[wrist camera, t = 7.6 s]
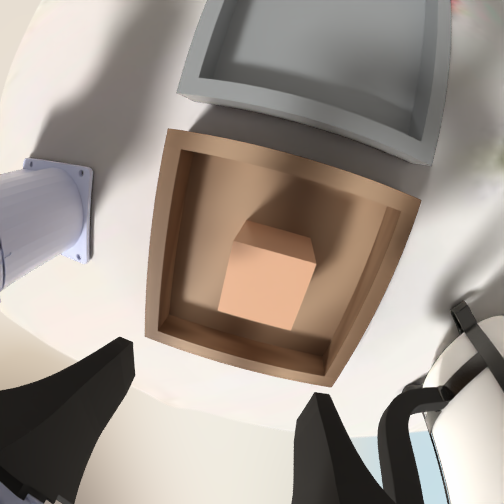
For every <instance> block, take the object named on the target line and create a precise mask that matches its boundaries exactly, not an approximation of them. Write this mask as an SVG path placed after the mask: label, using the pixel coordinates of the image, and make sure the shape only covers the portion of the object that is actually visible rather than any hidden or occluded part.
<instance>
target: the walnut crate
mask: <svg viewBox="0 0 504 504" xmlns="http://www.w3.org/2000/svg"><path fill="white" fill-rule="evenodd" d="M420 203H421V200H420V199H418V198H415V197H413V196H411V195H408V194H406V193H403V192H401V191H399V190H396V189H394V188H391V187H389V186H386V185H384V184H381V183H378V182H376V181H373V180H370V179H368V178H365V177H362V176H359V175H356V174H354V173H351V172H348V171H345V170H342V169H339V168H336V167H333V166H330V165H327V164H323V163H320V162H317V161H314V160H310V159H307V158H303V157H300V156H296V155H293V154H289V153H286V152H282V151H278V150H274V149H270V148H266V147H262V146H258V145H254V144H250V143H245V142H241V141H236V140H231V139H227V138H222V137H217V136H211V135H206V134H200V133H195V132H189V131H183V130H176V129H169V128H168V131H167V135H166V140H165V145H164V150H163V155H162V161H161V166H160V172H159V178H158V184H157V190H156V197H155V204H154V211H153V219H152V228H151V237H150V246H149V257H148V270H147V285H146V306H145V337H147V338H150V339H152V340H155V341H158V342H160V343H163V344H166V345H169V346H171V347H174V348H177V349H180V350H183V351H186V352H189V353H192V354H195V355H198V356H201V357H204V358H208V359H211V360H214V361H218V362H221V363H224V364H228V365H231V366H235V367H239V368H242V369H246V370H250V371H254V372H258V373H262V374H266V375H271V376H275V377H279V378H284V379H289V380H294V381H298V382H304V383H309V384H314V385H320V386H326V387H332V386H333V384H334V383H335V381H336V380H337V378H338V377H339V375H340V374H341V372H342V370H343V369H344V367H345V365H346V364H347V362H348V361H349V359H350V357H351V355H352V354H353V352H354V350H355V349H356V347H357V345H358V343H359V342H360V340H361V338H362V336H363V334H364V333H365V331H366V329H367V327H368V325H369V323H370V321H371V320H372V318H373V316H374V314H375V312H376V310H377V308H378V306H379V304H380V302H381V300H382V298H383V296H384V294H385V291H386V289H387V287H388V285H389V283H390V281H391V278H392V276H393V274H394V272H395V269H396V267H397V265H398V262H399V260H400V258H401V255H402V253H403V250H404V248H405V245H406V243H407V240H408V237H409V235H410V232H411V229H412V227H413V224H414V221H415V218H416V215H417V212H418V210H419V207H420ZM246 220H248V221H252V222H255V223H259V224H263V225H266V226H270V227H273V228H277V229H281V230H284V231H288V232H291V233H295V234H298V235H302V236H305V237H309V238H311V242H312V246H313V251H314V255H315V259H316V267H315V269H314V272H313V275H312V278H311V280H310V283H309V286H308V288H307V291H306V294H305V296H304V299H303V301H302V304H301V306H300V309H299V311H298V314H297V317H296V319H295V321H294V324H293V326H292V329H291V331H290V330H286V329H282V328H278V327H274V326H271V325H267V324H263V323H259V322H256V321H252V320H248V319H245V318H241V317H238V316H234V315H231V314H227V313H224V312H220V311H218V306H219V302H220V297H221V293H222V288H223V284H224V279H225V275H226V271H227V266H228V262H229V258H230V253H231V249H232V245H233V241H234V239H235V237H236V236H237V234H238V233H239V231H240V229H241V228H242V226H243V225H244V223H245V221H246Z"/></svg>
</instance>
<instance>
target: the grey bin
mask: <svg viewBox="0 0 504 504" xmlns="http://www.w3.org/2000/svg"><path fill="white" fill-rule="evenodd" d="M450 50H451V0H207V2H206V4H205V7H204V9H203V12H202V15H201V17H200V20H199V23H198V25H197V28H196V31H195V34H194V37H193V40H192V43H191V46H190V49H189V52H188V55H187V58H186V62H185V65H184V68H183V72H182V75H181V79H180V82H179V86H178V89H177V94H179V95H182V96H184V97H186V98H188V99H190V100H192V101H194V102H200V103H207V104H214V105H220V106H226V107H231V108H237V109H242V110H247V111H252V112H257V113H261V114H266V115H270V116H274V117H278V118H282V119H286V120H290V121H294V122H298V123H301V124H305V125H308V126H312V127H315V128H318V129H322V130H325V131H328V132H331V133H334V134H337V135H340V136H343V137H346V138H349V139H352V140H355V141H357V142H360V143H363V144H366V145H368V146H371V147H373V148H376V149H379V150H381V151H384V152H386V153H388V154H391V155H393V156H396V157H398V158H400V159H402V160H405V161H407V162H409V163H415V164H422V165H428V166H432V162H433V159H434V155H435V150H436V146H437V142H438V137H439V132H440V128H441V122H442V117H443V111H444V105H445V99H446V92H447V84H448V75H449V65H450Z"/></svg>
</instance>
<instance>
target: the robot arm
mask: <svg viewBox="0 0 504 504" xmlns="http://www.w3.org/2000/svg"><path fill="white" fill-rule="evenodd" d="M82 170H83V175H82ZM92 179H93V171H92V169H91V168H90V167H86V166H80V165H74V164H68V163H62V162H55V161H49V160H42V159H35V158H25V160H24V163H23V169H21V170H17V171H12V172H8V173H4V174H0V291H2V290H3V289H5V288H6V287H8V286H9V285H11V284H12V283H14V282H15V281H17V280H18V279H20V278H21V277H23V276H25V275H26V274H28V273H29V272H31V271H33V270H34V269H36V268H38V267H39V266H41V265H43V264H44V263H46V262H48V261H49V260H51V259H53V258H54V257H56V256H58V255H60V254H61V255H63V256H66V257H68V258H70V259H73V260H75V261H77V262H80V263H82V264H86V263H88V262H89V229H90V205H91V191H92ZM79 255H80V256H79ZM80 257H81V258H80ZM0 302H1V300H0ZM134 377H135V367H134V354H133V342H131V341H129V340H126V339H124V338H122V337H118V338H116V339H115V340H113V341H112V342H110V343H108V344H107V345H105V346H104V347H102V348H100V349H99V350H97V351H96V352H94V353H92V354H91V355H89V356H87V357H85V358H84V359H82V360H80V361H79V362H77V363H75V364H73V365H71V366H69V367H67V368H66V369H64V370H62V371H60V372H58V373H56V374H53V375H51V376H49V377H46V378H44V379H41V380H39V381H36V382H33V383H30V384H27V385H23V386H20V387H16V388H12V389H6V390H1V391H0V504H44V502H45V501H46V500H48V501H49V502H51V503H52V504H54V503H55V501H56V500H58V501H59V502H61V503H62V504H74V503H75V499H76V495H77V492H78V488H79V485H80V482H81V479H82V476H83V473H84V470H85V468H86V465H87V463H88V460H89V458H90V456H91V453H92V451H93V449H94V447H95V444H96V442H97V440H98V438H99V436H100V435H101V433H102V431H103V430H104V428H105V427H106V425H107V423H108V422H109V420H110V419H111V417H112V416H113V414H114V413H115V411H116V410H117V408H118V406H119V405H120V403H121V402H122V400H123V399H124V397H125V395H126V394H127V392H128V390H129V388H130V385H131V383H132V381H133V379H134ZM292 504H396V503H395V502H394V501H393V500H392V499H391V498H390V496H389V495H388V494H387V493H386V492H385V491H384V490H383V489H382V488H381V487H380V486H379V484H378V483H377V481H376V480H375V479H374V477H373V476H372V475H371V473H370V472H369V470H368V469H367V468H366V466H365V465H364V463H363V461H362V459H361V458H360V456H359V454H358V453H357V451H356V449H355V447H354V445H353V444H352V442H351V440H350V438H349V436H348V434H347V432H346V430H345V428H344V426H343V423H342V421H341V419H340V417H339V415H338V412H337V410H336V408H335V406H334V403H333V401H332V399H331V397H330V395H329V394H323V393H317V392H314V394H313V396H312V397H311V399H310V400H309V402H308V404H307V405H306V407H305V408H304V410H303V411H302V413H301V414H300V416H299V417H298V419H297V422H296V430H295V438H294V484H293V497H292Z"/></svg>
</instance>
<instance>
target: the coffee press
mask: <svg viewBox="0 0 504 504" xmlns="http://www.w3.org/2000/svg"><path fill="white" fill-rule="evenodd" d="M451 315H452V317H453V319H454V322H455V324H456V326H457V328H458V331H459V334H460V336H459V337H458V338H456V339H455V340H454V341H453V342H452V343H451V344H450V345H449V346H448V347H447V348H446V349H445V350H444V352H443V353H442V354H441V355H440V356H439V358H438V359H437V361H436V362H435V363H434V365H433V366H432V368H431V370H430V371H429V373H428V375H427V377H426V379H425V382H424V384H423V385H414V384H410V385H407V386H406V387H405V388H404V389H403V391H402V393H401V394H399V395H398V396H397V397H396V398H394V399H393V401H392V402H391V403H390V405H389V406H388V407H387V409H386V410H385V411H384V413H383V415H382V417H381V419H380V422H379V426H378V452H379V460H380V468H381V475H382V483H383V490H384V491H385V492H386V493H387V494H388V495H389V496H390V498H391V499H392V500H393V501H394V502H395V503H396V504H424V500H423V495H422V489H421V484H420V480H419V475H418V470H417V466H416V461H415V457H414V453H413V449H412V445H411V441H410V436H409V430H408V422H409V417H410V415H412V414H415V413H420V412H422V414H423V417H424V419H425V422H426V425H427V428H428V431H429V434H430V437H431V441H432V444H433V447H434V451H435V454H436V458H437V461H438V465H439V469H440V472H441V476H442V480H443V485H444V489H445V493H446V498H447V503H448V504H449V499H450V504H504V316H494V317H490V318H487V319H485V320H483V321H481V322H479V323H477V322H476V320H475V318H474V316H473V314H472V312H471V311H470V309H469V307H468V305H467V304H466V302H465V301H462V302H461V303H460V304H458V305H457V306H455V307H454V308H452V309H451ZM424 412H425V414H426V418H425V415H424ZM431 432H432V435H433V439H434V442H435V445H436V448H437V452H438V455H439V458H440V462H441V466H442V470H443V473H444V477H445V481H446V485H447V490H448V494H449V499H448V494H447V490H446V486H445V482H444V477H443V474H442V470H441V466H440V462H439V460H438V455H437V452H436V449H435V445H434V442H433V439H432V436H431Z"/></svg>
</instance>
